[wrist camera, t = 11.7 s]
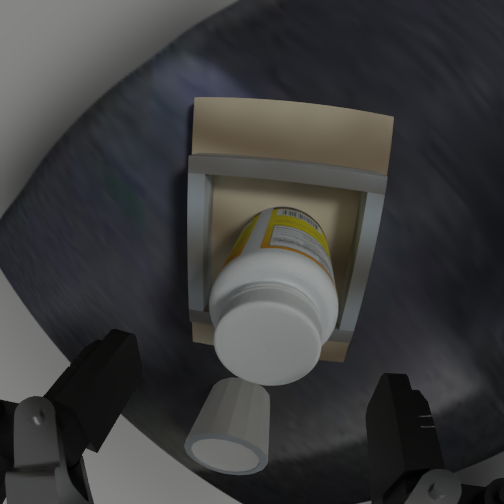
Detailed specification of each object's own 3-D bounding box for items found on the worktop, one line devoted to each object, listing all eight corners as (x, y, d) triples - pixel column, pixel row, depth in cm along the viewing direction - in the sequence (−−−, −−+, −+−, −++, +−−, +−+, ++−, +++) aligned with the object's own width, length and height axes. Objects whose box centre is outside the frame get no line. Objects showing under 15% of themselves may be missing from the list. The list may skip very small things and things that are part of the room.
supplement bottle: (253, 291, 22) (218, 403, 13) (230, 214, 20) (167, 294, 11) (334, 276, 21) (350, 391, 11) (318, 194, 19) (332, 265, 9)
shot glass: (282, 379, 26) (274, 444, 20) (271, 424, 29) (262, 481, 22) (205, 365, 27) (180, 425, 20) (204, 411, 30) (185, 465, 23)
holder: (199, 98, 19) (183, 94, 16) (389, 117, 17) (403, 116, 14) (196, 334, 26) (185, 357, 23) (342, 354, 24) (345, 379, 21)
